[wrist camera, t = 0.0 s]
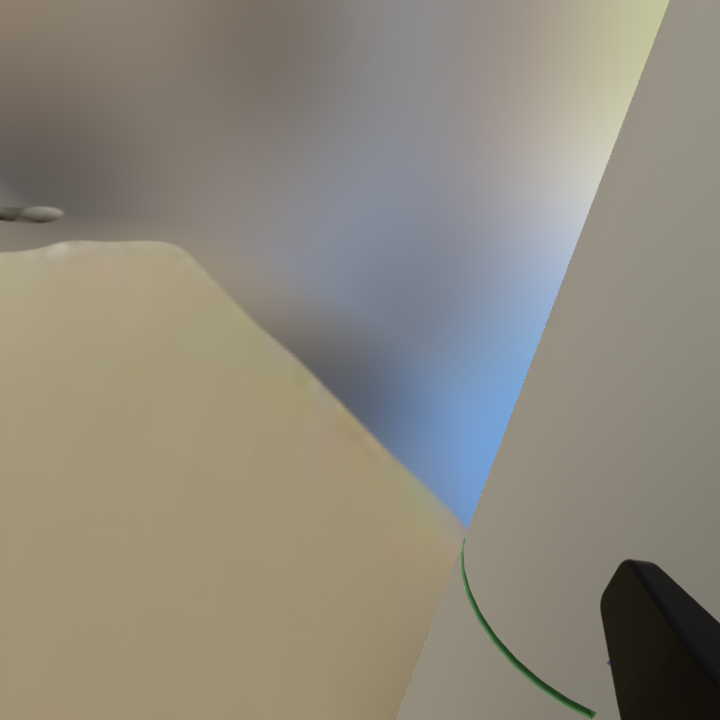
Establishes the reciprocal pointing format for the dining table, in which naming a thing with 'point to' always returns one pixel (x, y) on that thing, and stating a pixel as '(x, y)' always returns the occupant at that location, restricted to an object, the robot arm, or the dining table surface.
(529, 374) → the cylindrical container
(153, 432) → the dining table surface
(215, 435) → the dining table surface
